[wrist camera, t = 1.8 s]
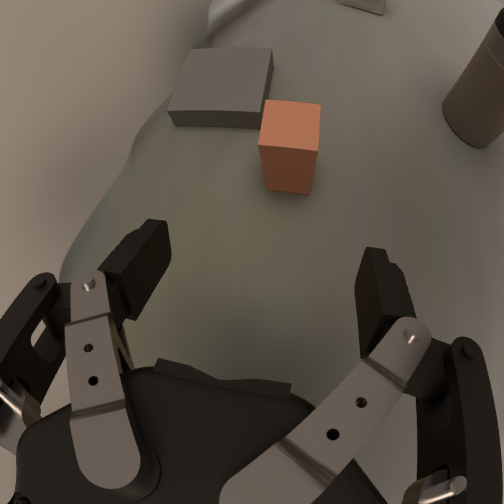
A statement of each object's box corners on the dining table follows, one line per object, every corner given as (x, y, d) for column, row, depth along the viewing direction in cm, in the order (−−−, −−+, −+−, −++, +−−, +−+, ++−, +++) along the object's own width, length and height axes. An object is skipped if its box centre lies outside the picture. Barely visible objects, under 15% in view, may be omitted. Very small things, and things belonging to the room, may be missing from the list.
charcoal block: (197, 67, 36) (190, 49, 32) (273, 68, 35) (272, 48, 31) (177, 127, 35) (166, 110, 31) (262, 131, 33) (259, 112, 29)
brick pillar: (271, 152, 32) (265, 99, 22) (312, 157, 32) (320, 104, 22) (266, 189, 32) (258, 144, 22) (308, 194, 31) (317, 151, 21)
